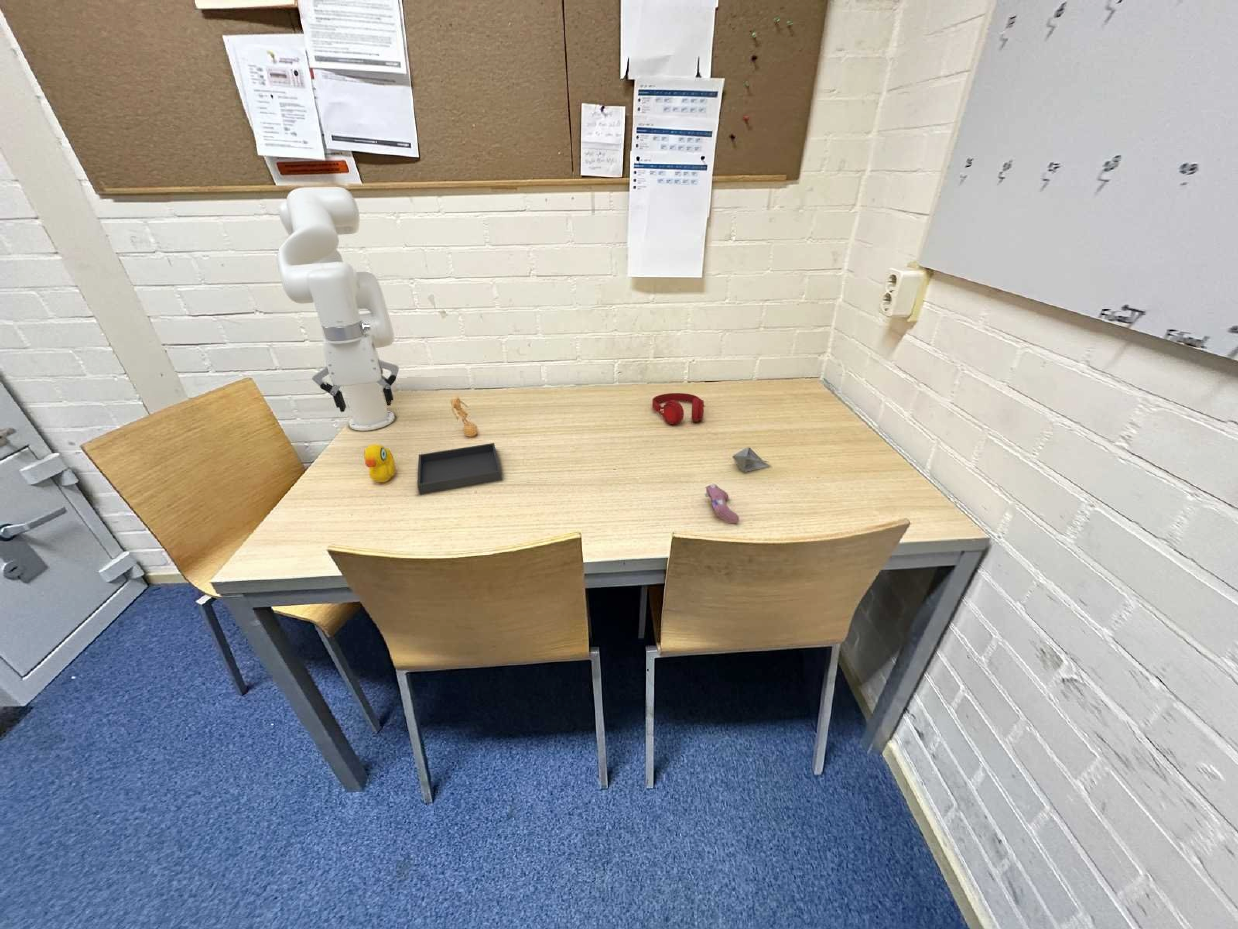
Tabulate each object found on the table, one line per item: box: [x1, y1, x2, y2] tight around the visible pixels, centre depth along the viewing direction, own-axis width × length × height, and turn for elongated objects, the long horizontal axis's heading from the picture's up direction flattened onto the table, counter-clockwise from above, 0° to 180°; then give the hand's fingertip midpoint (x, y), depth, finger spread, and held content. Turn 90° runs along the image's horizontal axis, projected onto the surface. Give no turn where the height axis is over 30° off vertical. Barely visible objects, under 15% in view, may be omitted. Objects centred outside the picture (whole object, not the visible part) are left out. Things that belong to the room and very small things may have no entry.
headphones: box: [651, 392, 706, 425], centre depth 152 cm, size 15×7×20 cm
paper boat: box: [731, 446, 769, 473], centre depth 122 cm, size 12×6×9 cm
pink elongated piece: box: [704, 483, 740, 524], centre depth 108 cm, size 10×5×7 cm, turn 5°
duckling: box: [363, 444, 396, 483], centre depth 119 cm, size 11×5×10 cm, turn 4°
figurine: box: [449, 396, 478, 438], centre depth 138 cm, size 8×6×12 cm
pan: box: [416, 442, 503, 496], centre depth 124 cm, size 15×19×3 cm
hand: (366, 406), depth 112 cm, fingers open, 9 cm apart
